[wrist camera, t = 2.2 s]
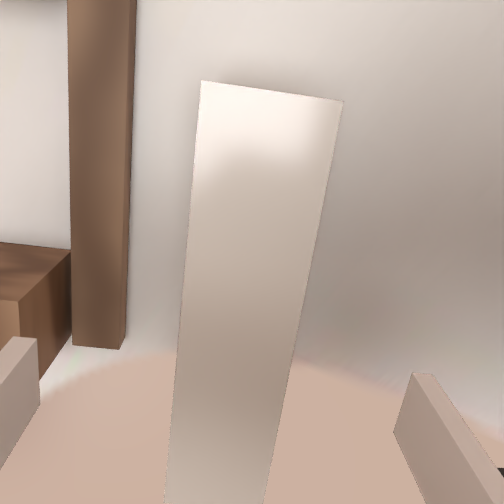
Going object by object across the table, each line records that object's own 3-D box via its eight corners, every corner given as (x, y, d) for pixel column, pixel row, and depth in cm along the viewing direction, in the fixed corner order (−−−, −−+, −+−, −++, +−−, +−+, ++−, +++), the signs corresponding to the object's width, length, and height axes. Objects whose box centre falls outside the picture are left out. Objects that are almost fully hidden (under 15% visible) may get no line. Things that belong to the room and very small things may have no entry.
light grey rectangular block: (304, 96, 24) (343, 101, 15) (255, 384, 31) (261, 510, 22) (216, 83, 24) (201, 80, 15) (186, 377, 31) (163, 502, 22)
